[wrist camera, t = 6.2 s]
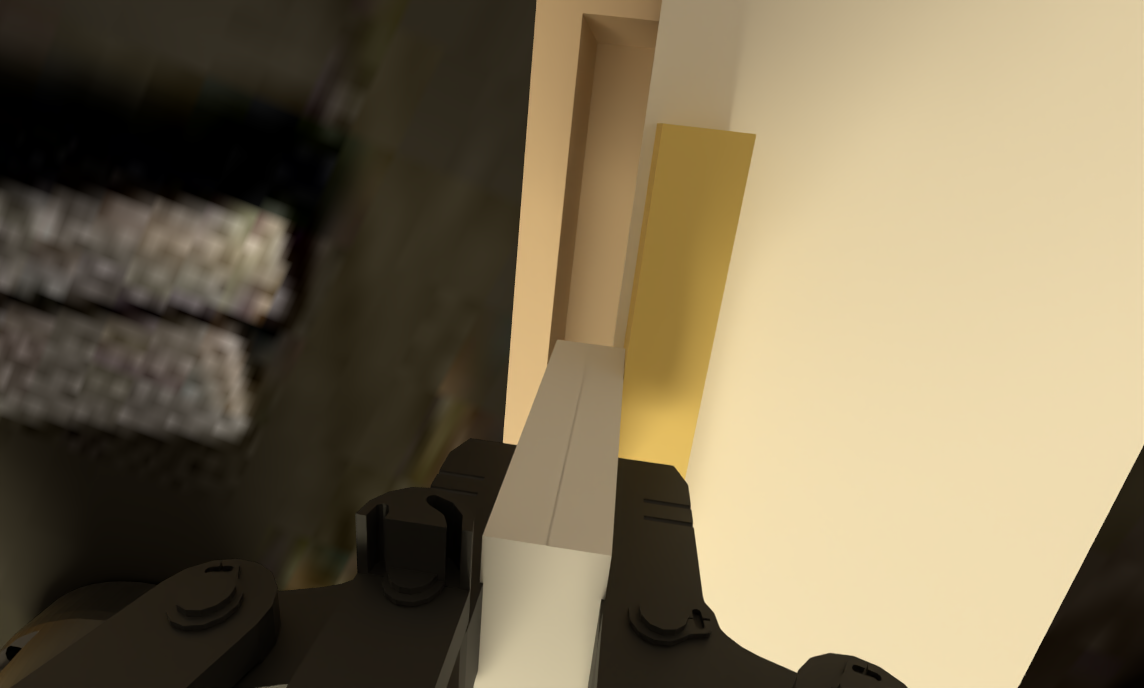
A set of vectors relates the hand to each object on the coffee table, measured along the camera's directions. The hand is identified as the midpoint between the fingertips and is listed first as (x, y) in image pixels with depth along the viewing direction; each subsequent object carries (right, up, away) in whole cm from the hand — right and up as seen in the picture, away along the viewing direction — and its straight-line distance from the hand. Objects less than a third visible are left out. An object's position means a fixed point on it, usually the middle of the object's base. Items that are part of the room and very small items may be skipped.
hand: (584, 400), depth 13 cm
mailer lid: (+7, 0, +2) cm, 7 cm away
